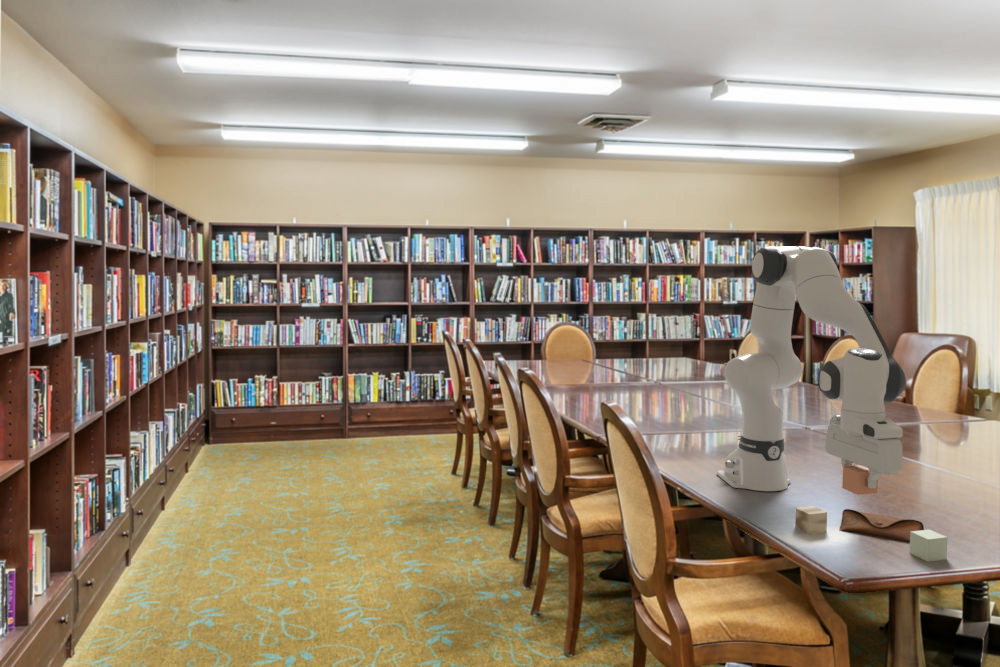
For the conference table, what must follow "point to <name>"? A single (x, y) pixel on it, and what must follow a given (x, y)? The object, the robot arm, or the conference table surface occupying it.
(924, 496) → the conference table surface
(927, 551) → the sage block
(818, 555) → the conference table surface
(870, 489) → the rust block
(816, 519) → the maple block
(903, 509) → the conference table surface
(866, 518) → the sunglasses case
